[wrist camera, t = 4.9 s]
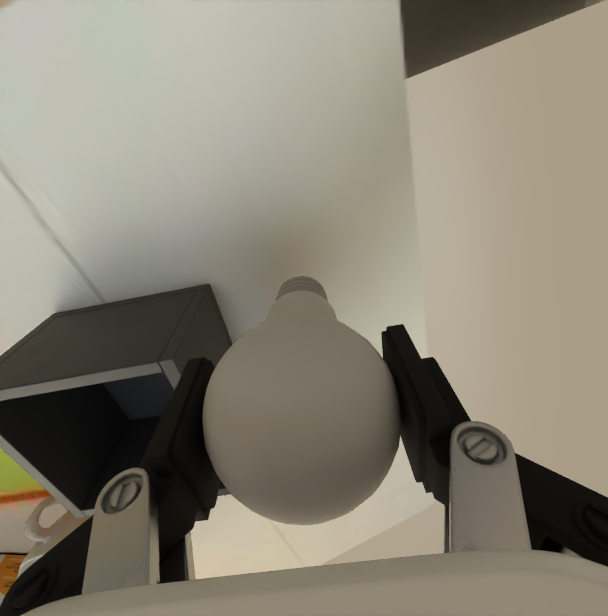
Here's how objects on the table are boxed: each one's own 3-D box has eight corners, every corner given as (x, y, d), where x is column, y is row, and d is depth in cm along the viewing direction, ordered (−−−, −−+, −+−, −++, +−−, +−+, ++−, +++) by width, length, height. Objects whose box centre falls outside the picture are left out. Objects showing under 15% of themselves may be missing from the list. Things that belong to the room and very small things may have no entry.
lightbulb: (377, 304, 17) (468, 529, 8) (287, 351, 19) (273, 581, 10) (320, 211, 14) (356, 386, 5) (220, 275, 16) (111, 494, 7)
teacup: (198, 511, 39) (179, 593, 32) (119, 536, 41) (85, 618, 35) (114, 443, 32) (66, 530, 25) (23, 478, 34) (-43, 566, 27)
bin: (209, 283, 23) (172, 358, 16) (253, 399, 30) (242, 492, 22) (53, 313, 24) (-55, 399, 17) (128, 420, 30) (76, 518, 23)
